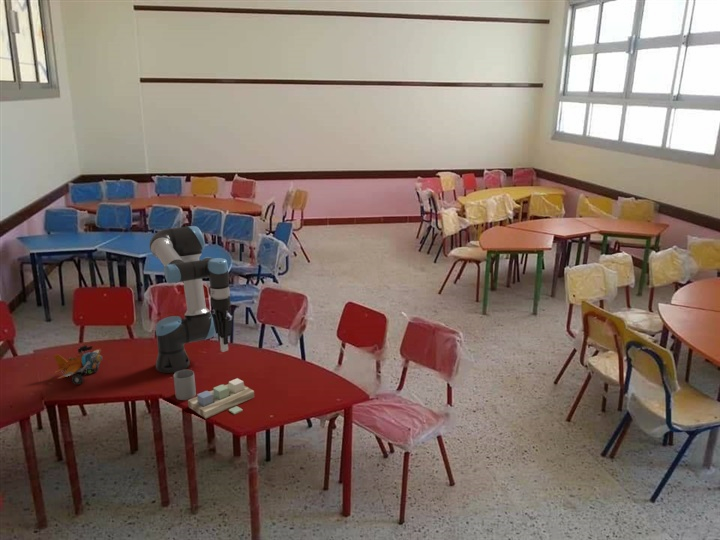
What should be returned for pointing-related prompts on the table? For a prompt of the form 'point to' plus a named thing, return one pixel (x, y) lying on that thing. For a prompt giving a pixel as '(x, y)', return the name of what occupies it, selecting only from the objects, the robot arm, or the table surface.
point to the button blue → (205, 398)
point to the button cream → (236, 386)
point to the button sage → (221, 392)
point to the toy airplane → (79, 364)
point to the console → (221, 402)
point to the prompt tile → (235, 410)
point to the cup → (184, 384)
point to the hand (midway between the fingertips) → (224, 350)
